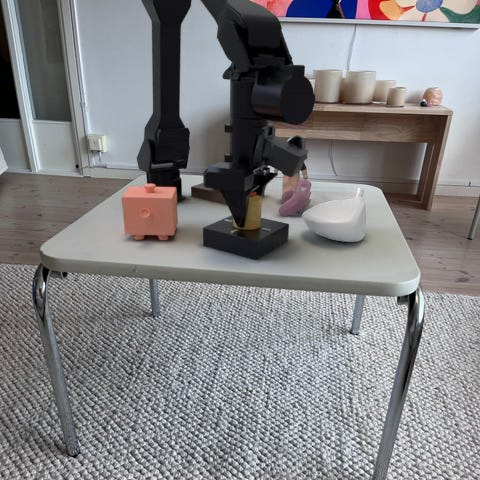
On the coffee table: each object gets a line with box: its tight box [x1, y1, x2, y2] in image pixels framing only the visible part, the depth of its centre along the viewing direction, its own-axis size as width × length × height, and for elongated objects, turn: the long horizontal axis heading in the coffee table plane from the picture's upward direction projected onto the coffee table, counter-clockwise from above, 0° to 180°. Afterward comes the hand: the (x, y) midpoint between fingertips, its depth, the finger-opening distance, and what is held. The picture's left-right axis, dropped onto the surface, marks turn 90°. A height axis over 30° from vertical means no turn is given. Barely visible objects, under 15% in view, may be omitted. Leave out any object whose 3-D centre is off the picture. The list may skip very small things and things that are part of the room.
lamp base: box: [190, 182, 265, 205], centre depth 100 cm, size 12×10×4 cm
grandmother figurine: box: [272, 135, 309, 204], centre depth 95 cm, size 8×4×13 cm, turn 67°
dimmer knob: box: [233, 192, 263, 230], centre depth 74 cm, size 4×4×5 cm
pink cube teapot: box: [121, 183, 179, 241], centre depth 77 cm, size 8×12×8 cm, turn 1°
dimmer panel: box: [202, 214, 290, 261], centre depth 76 cm, size 10×10×3 cm
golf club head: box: [301, 187, 367, 243], centre depth 80 cm, size 10×11×12 cm
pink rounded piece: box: [278, 178, 313, 217], centre depth 92 cm, size 10×5×7 cm, turn 173°
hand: (246, 223), depth 75 cm, fingers closed on dimmer knob, 4 cm apart
